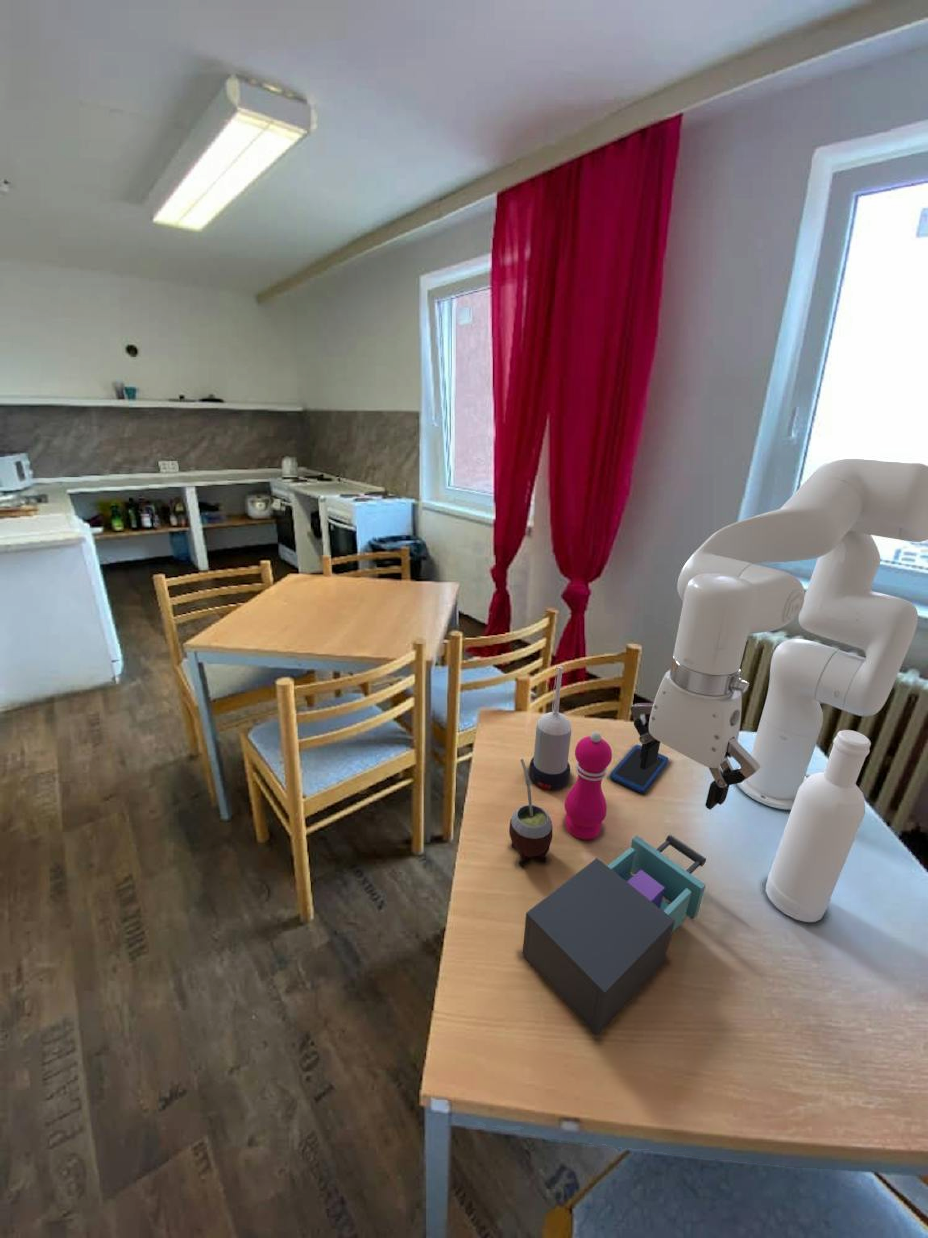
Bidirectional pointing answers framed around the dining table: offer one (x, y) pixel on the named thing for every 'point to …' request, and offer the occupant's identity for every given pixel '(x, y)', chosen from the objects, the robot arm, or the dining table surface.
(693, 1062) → the dining table surface
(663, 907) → the drawer
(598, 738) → the pepper mill
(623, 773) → the cell phone
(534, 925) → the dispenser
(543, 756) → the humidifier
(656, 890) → the block
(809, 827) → the bottle
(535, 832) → the mate gourd
